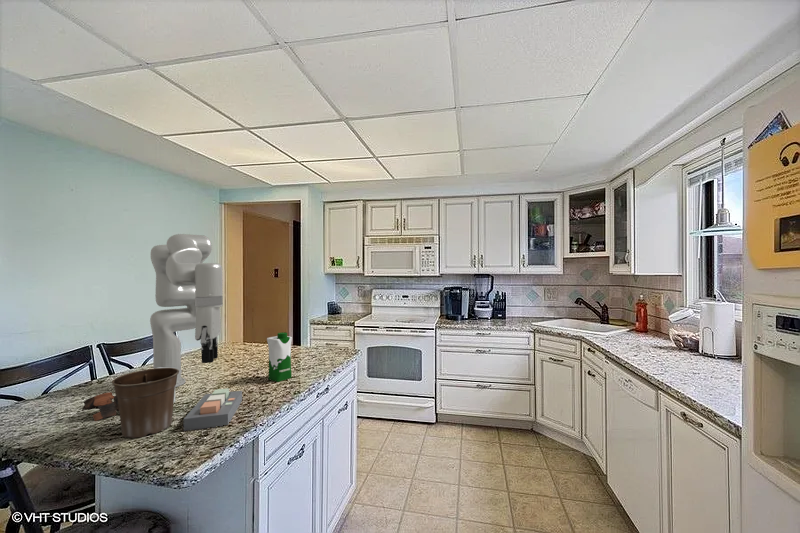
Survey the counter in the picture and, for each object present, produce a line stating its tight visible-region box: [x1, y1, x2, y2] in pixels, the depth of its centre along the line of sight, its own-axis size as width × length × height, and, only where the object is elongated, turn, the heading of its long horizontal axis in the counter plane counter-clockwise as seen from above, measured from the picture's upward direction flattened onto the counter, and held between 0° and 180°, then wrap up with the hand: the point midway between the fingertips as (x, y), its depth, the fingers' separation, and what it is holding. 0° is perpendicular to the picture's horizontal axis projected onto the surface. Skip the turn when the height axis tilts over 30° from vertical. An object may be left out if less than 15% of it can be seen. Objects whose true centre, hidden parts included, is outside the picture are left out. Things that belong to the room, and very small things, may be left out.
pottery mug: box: [81, 391, 119, 422], centre depth 114 cm, size 12×10×8 cm
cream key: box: [206, 394, 225, 406], centre depth 112 cm, size 4×4×3 cm
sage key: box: [211, 388, 230, 399], centre depth 118 cm, size 4×4×3 cm
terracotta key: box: [200, 401, 220, 415], centre depth 106 cm, size 4×4×3 cm
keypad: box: [183, 390, 243, 431], centre depth 112 cm, size 21×12×4 cm, turn 14°
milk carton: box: [266, 331, 293, 383], centre depth 148 cm, size 9×9×20 cm
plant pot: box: [111, 367, 179, 439], centre depth 102 cm, size 16×16×16 cm
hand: (209, 360), depth 106 cm, fingers open, 3 cm apart
